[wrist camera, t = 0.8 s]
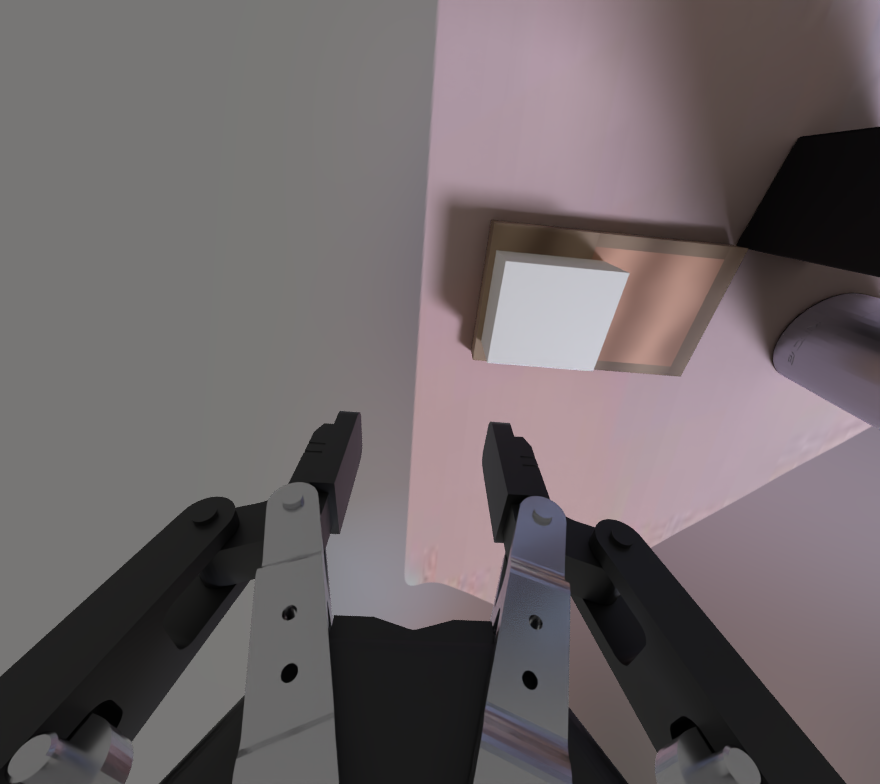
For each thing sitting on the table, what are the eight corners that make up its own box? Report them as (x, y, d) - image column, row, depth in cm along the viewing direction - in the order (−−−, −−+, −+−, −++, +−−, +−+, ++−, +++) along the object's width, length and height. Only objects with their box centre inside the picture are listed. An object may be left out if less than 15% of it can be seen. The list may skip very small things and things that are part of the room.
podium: (730, 244, 29) (748, 248, 28) (668, 367, 36) (680, 376, 34) (491, 220, 28) (494, 222, 27) (471, 351, 34) (472, 359, 33)
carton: (603, 260, 28) (629, 273, 24) (574, 348, 32) (593, 371, 28) (496, 250, 28) (505, 261, 24) (481, 341, 32) (487, 362, 28)
